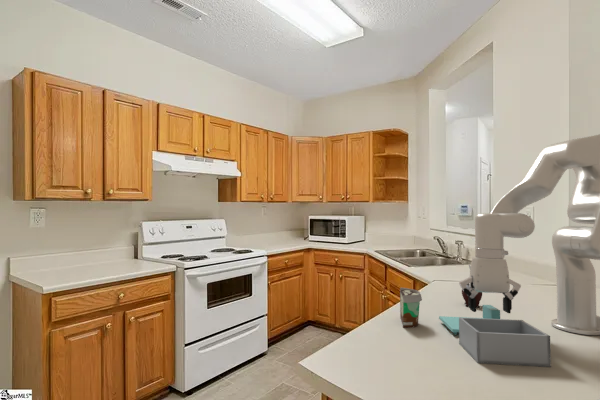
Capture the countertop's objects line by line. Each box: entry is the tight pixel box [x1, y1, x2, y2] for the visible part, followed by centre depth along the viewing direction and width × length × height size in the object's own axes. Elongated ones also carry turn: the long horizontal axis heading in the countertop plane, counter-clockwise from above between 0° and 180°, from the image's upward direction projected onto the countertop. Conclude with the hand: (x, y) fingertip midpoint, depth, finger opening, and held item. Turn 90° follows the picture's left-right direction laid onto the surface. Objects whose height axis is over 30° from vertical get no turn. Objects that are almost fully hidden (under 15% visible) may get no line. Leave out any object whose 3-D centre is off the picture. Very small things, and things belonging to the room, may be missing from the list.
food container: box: [399, 287, 423, 329], centre depth 109 cm, size 12×6×10 cm, turn 168°
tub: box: [458, 316, 552, 368], centre depth 86 cm, size 16×12×7 cm
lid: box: [438, 304, 501, 335], centre depth 103 cm, size 17×13×7 cm
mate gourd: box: [461, 264, 483, 309], centre depth 132 cm, size 8×8×15 cm
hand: (489, 311), depth 103 cm, fingers open, 9 cm apart
